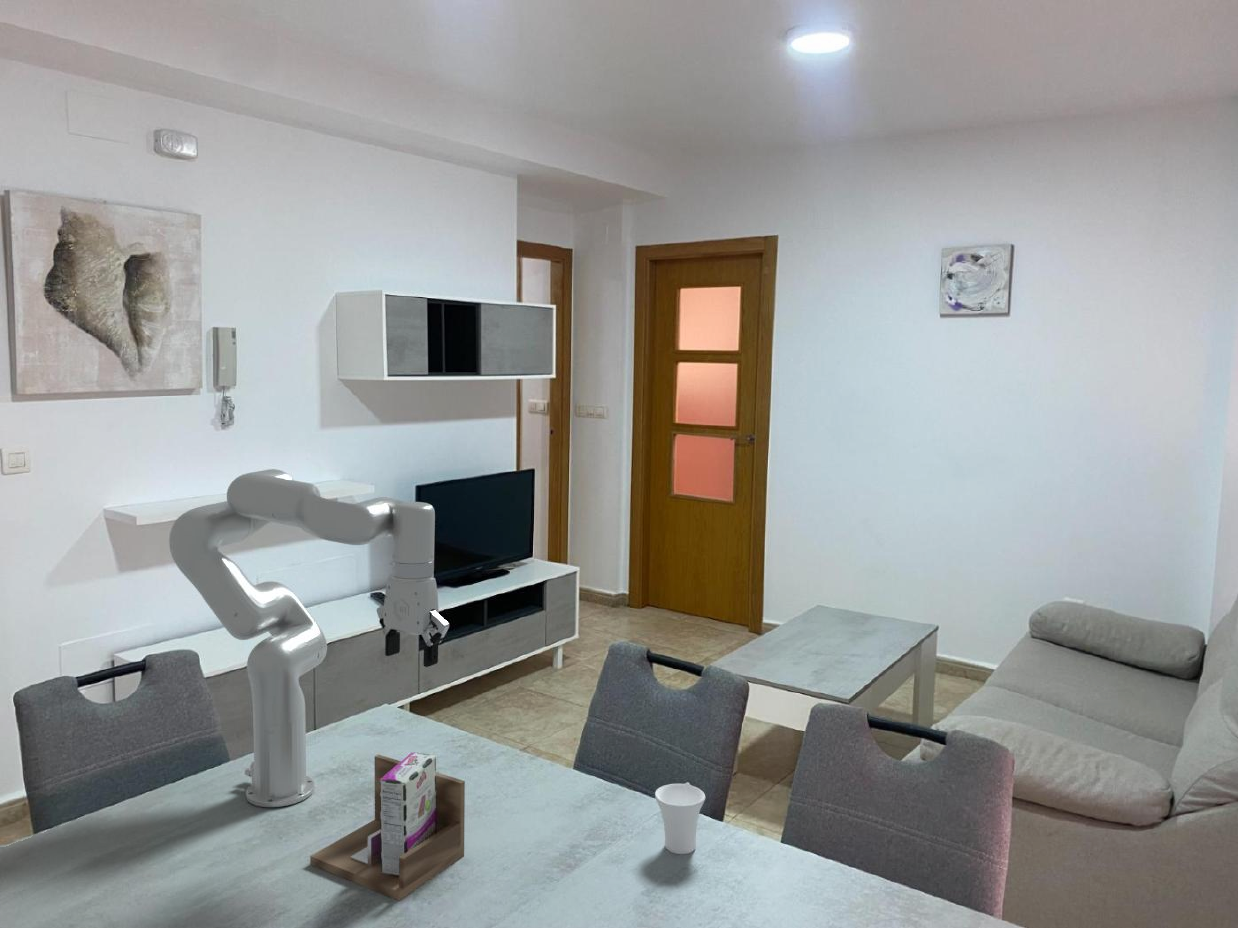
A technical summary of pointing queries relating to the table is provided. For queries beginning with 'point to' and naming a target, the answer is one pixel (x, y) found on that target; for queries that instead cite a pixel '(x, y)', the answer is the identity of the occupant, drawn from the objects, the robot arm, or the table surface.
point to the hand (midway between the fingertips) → (411, 659)
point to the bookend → (370, 851)
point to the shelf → (413, 863)
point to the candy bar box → (407, 808)
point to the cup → (680, 815)
